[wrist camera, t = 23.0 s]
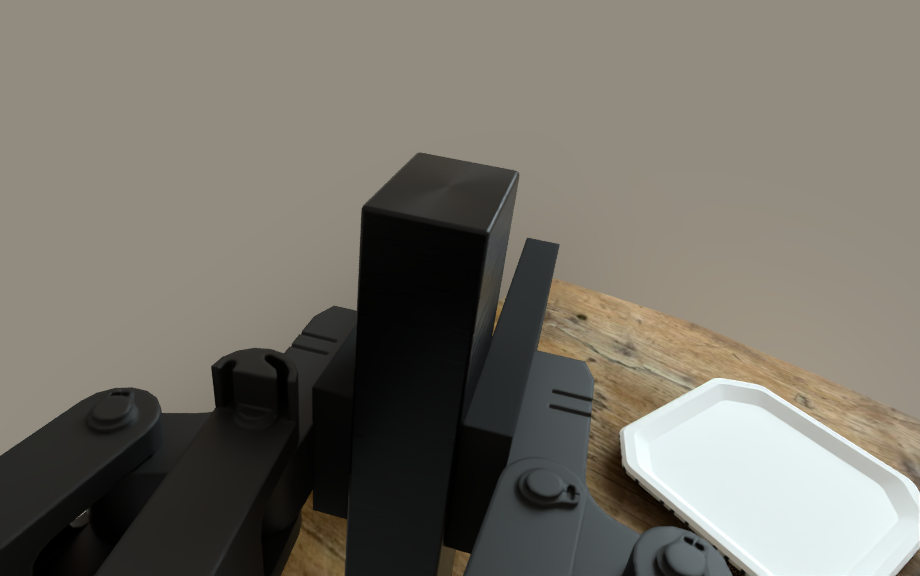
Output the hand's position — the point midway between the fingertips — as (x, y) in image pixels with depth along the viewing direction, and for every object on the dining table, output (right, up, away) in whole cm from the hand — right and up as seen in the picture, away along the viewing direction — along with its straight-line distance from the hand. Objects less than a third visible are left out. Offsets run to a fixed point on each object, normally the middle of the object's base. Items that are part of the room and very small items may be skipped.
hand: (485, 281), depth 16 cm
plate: (+25, -17, +39) cm, 49 cm away
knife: (-3, -16, +3) cm, 16 cm away
